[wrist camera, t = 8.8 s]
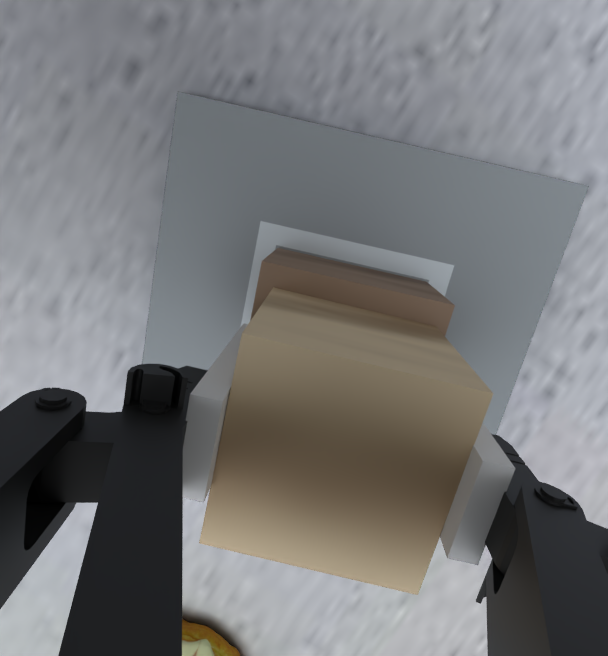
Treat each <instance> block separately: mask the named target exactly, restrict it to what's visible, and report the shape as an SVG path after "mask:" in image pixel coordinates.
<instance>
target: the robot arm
mask: <svg viewBox="0 0 608 656" xmlns="http://www.w3.org/2000/svg"><path fill="white" fill-rule="evenodd" d="M247 325H248V324H244V323H243V325H242V326H241V327H240V329H239V330H238V331H237V333H236V334H235V335H234V337H233V338H232V339H231V341H230V342H229V343H228V345H227V346H226V347H225V349H224V350H223V351H222V353H221V354H220V355H219V356H218V358H217V359H216V360H215V362H214V363H213V364H212V366H211V367H210V368H209V370H204V369H199V368H195V367H191V366H184V367H181V368H175V367H172V366H169V365H163V364H141V365H137V366H134V367H132V368H131V369H130V370H129V371H128V374H127V382H126V390H125V398H124V405H123V409H122V412H115V413H104V412H86V403H87V402H86V400H85V397H84V396H82V395H81V394H79V393H77V392H74V391H71V390H66V389H60V388H52V389H50V388H43V389H41V390H36V391H32V392H29V393H27V394H25V395H23V396H21V397H20V398H18V399H17V400H16V401H14V402H13V403H11V404H10V405H9V406H7V407H6V408H4V409H3V410H2V411H0V609H1V607H2V606H3V605H4V603H5V602H6V601H7V599H8V598H9V596H10V595H11V594H12V592H13V591H14V590H15V588H16V587H17V586H18V584H19V583H20V581H21V580H22V579H23V577H24V576H25V575H26V573H27V572H28V570H29V569H30V568H31V566H32V565H33V564H34V562H35V561H36V560H37V558H38V557H39V555H40V554H41V553H42V551H43V550H44V549H45V547H46V546H47V544H48V543H49V542H50V540H51V539H52V538H53V536H54V535H55V534H56V532H57V531H58V529H59V528H60V527H61V525H62V524H63V523H64V521H65V520H66V518H67V517H68V516H69V514H70V513H71V512H72V510H73V509H74V506H75V504H76V503H85V502H98V506H97V509H96V513H95V517H94V521H93V525H92V529H91V533H90V536H89V540H88V544H87V548H86V552H85V556H84V559H83V563H82V567H81V571H80V575H79V579H78V583H77V586H76V590H75V594H74V598H73V602H72V606H71V610H70V613H69V617H68V621H67V625H66V629H65V633H64V636H63V640H62V644H61V648H60V652H59V656H182V499H183V498H186V499H190V500H195V501H199V502H204V500H205V498H206V496H207V493H208V491H209V489H210V486H211V483H212V478H213V473H214V468H215V463H216V458H217V453H218V449H219V444H220V439H221V434H222V429H223V424H224V419H225V414H226V409H227V404H228V399H229V394H230V390H231V385H232V380H233V375H234V370H235V365H236V360H237V355H238V350H239V345H240V340H241V335H242V332H243V331H244V330H245V328H246V327H247ZM440 538H441V541H442V544H443V547H444V550H445V553H446V556H447V558H449V559H453V560H457V561H462V562H466V563H471V564H475V565H478V563H479V561H480V558H481V555H482V553H483V550H484V548H485V545H487V548H488V550H489V552H490V554H491V556H492V558H493V559H492V561H491V564H490V566H489V569H488V571H487V574H486V576H485V579H484V581H483V584H482V586H481V589H480V591H479V594H478V596H477V599H476V602H478V603H480V604H481V601H482V599H483V598H484V597H486V596H487V639H488V656H608V529H606V528H604V527H601V526H599V525H596V524H594V523H591V522H589V521H587V520H586V518H585V515H584V512H583V510H582V508H581V507H580V505H579V504H578V502H576V501H575V499H573V498H572V497H571V496H569V495H568V494H566V493H565V492H563V491H561V490H560V489H558V488H555V487H554V486H551V485H549V484H546V483H542V482H539V481H538V480H537V478H536V477H535V476H534V474H533V473H532V472H531V470H530V469H529V468H528V467H527V466H526V465H525V463H524V461H523V460H522V459H521V457H519V455H518V453H517V452H516V451H515V449H514V448H513V447H512V446H511V445H510V444H509V443H508V442H506V441H505V440H504V439H502V438H501V437H500V436H498V435H494V434H491V433H490V432H489V430H488V429H487V428H486V426H485V425H484V423H482V426H481V428H480V431H479V433H478V436H477V439H476V441H475V444H474V445H473V447H472V450H471V453H470V456H469V459H468V461H467V464H466V467H465V470H464V472H463V475H462V478H461V481H460V483H459V486H458V489H457V492H456V494H455V497H454V500H453V503H452V505H451V508H450V511H449V513H448V516H447V519H446V521H445V524H444V526H443V529H442V532H441V534H440Z"/></svg>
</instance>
